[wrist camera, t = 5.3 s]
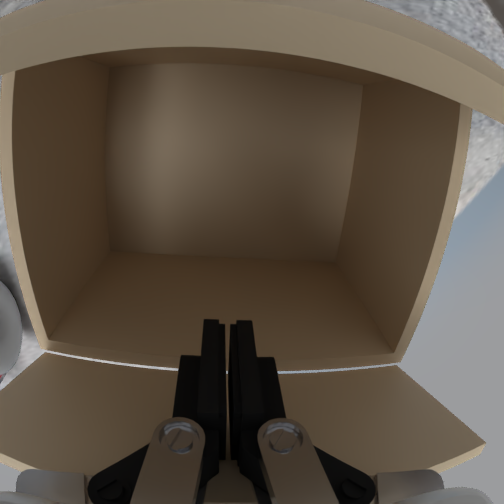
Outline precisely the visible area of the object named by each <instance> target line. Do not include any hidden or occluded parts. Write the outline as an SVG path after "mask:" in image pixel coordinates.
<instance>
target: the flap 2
mask: <svg viewBox="0 0 504 504" xmlns="http://www.w3.org/2000/svg"><path fill="white" fill-rule="evenodd" d="M177 377H178V371H170V370H159V369H148V368H139V367H131V366H123V365H115V364H108V363H101V362H95V361H89V360H83V359H77V358H71V357H66V356H61V355H56V354H51V353H46V352H45V353H44V354H43V355H41V356H40V357H39V358H38V359H37V360H35V361H34V362H33V363H32V364H31V365H30V366H28V367H27V368H26V369H25V370H24V371H23V372H22V373H20V374H19V375H18V376H17V377H16V378H15V379H14V380H12V381H11V382H10V383H9V384H8V385H7V386H6V387H5V388H3V389H2V390H1V391H0V462H1V463H3V464H5V465H7V466H9V467H12V468H14V469H16V470H18V471H21V472H23V471H25V470H27V469H38V470H47V471H58V472H73V473H84V474H85V475H95V474H97V473H98V472H100V471H102V470H104V469H106V468H107V467H109V466H111V465H113V464H115V463H116V462H118V461H120V460H122V459H123V458H125V457H127V456H129V455H130V454H132V453H134V452H135V451H137V450H139V449H140V448H142V447H144V446H145V445H147V444H149V443H150V441H151V438H152V436H153V433H154V431H155V429H156V427H157V426H158V425H159V424H160V423H161V422H162V421H164V420H167V419H169V418H172V415H173V407H174V399H175V391H176V384H177ZM278 378H279V383H280V388H281V393H282V398H283V404H284V409H285V414H286V418H287V419H292V420H294V421H296V422H298V423H300V424H301V425H302V426H303V427H304V428H305V429H306V431H307V432H308V435H309V437H310V439H311V442H312V444H313V445H314V446H316V447H317V448H319V449H321V450H323V451H324V452H326V453H328V454H330V455H332V456H333V457H335V458H337V459H339V460H341V461H343V462H345V463H347V464H348V465H350V466H352V467H354V468H356V469H358V470H360V471H362V472H364V473H366V474H367V475H375V474H376V473H383V472H400V471H412V470H422V469H431V470H434V471H436V472H437V473H440V472H443V471H445V470H447V469H450V468H452V467H454V466H457V465H459V464H461V463H463V462H465V461H467V460H469V459H472V458H474V457H475V456H478V455H480V454H481V452H482V450H483V448H484V446H485V444H486V442H485V441H483V440H482V439H481V438H480V437H479V436H478V435H477V434H476V433H474V432H473V431H472V430H471V429H470V428H469V427H468V426H466V425H465V424H464V423H463V422H462V421H461V420H459V419H458V418H457V417H456V416H455V415H454V414H452V413H451V412H450V411H449V410H448V409H447V408H445V407H444V406H443V405H442V404H441V403H440V402H438V401H437V400H436V399H435V398H434V397H433V396H432V395H430V394H429V393H428V392H427V391H426V390H425V389H423V388H422V387H421V386H420V385H419V384H418V383H416V382H415V381H414V380H413V379H412V378H410V377H409V376H408V375H407V374H406V373H405V372H404V371H402V370H401V369H400V368H399V367H398V366H397V365H394V366H386V367H378V368H368V369H358V370H347V371H334V372H318V373H298V374H297V373H295V374H278ZM226 393H227V428H226V460H219V473H218V474H217V475H216V476H214V477H213V478H212V479H211V480H209V483H208V488H207V492H206V496H205V501H204V504H257V501H256V498H255V496H254V493H253V490H252V487H251V484H250V480H249V479H247V478H246V477H245V476H243V475H242V474H241V473H240V471H239V467H238V466H237V460H231V454H230V430H229V402H228V374H226Z"/></svg>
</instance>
